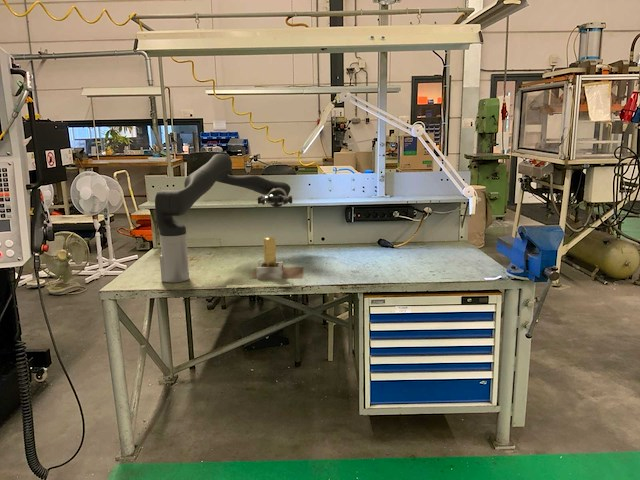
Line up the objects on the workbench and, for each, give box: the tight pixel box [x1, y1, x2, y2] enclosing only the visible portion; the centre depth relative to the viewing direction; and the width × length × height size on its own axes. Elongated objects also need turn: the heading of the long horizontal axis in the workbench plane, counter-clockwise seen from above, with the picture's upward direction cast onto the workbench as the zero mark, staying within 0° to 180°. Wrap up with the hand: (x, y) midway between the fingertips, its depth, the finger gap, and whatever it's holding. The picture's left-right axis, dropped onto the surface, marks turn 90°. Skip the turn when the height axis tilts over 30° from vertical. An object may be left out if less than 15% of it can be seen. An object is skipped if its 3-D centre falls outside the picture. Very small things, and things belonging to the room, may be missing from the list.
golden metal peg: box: [262, 236, 277, 267], centre depth 176 cm, size 4×4×14 cm
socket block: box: [249, 261, 305, 280], centre depth 181 cm, size 19×16×5 cm
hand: (273, 201), depth 192 cm, fingers open, 8 cm apart
